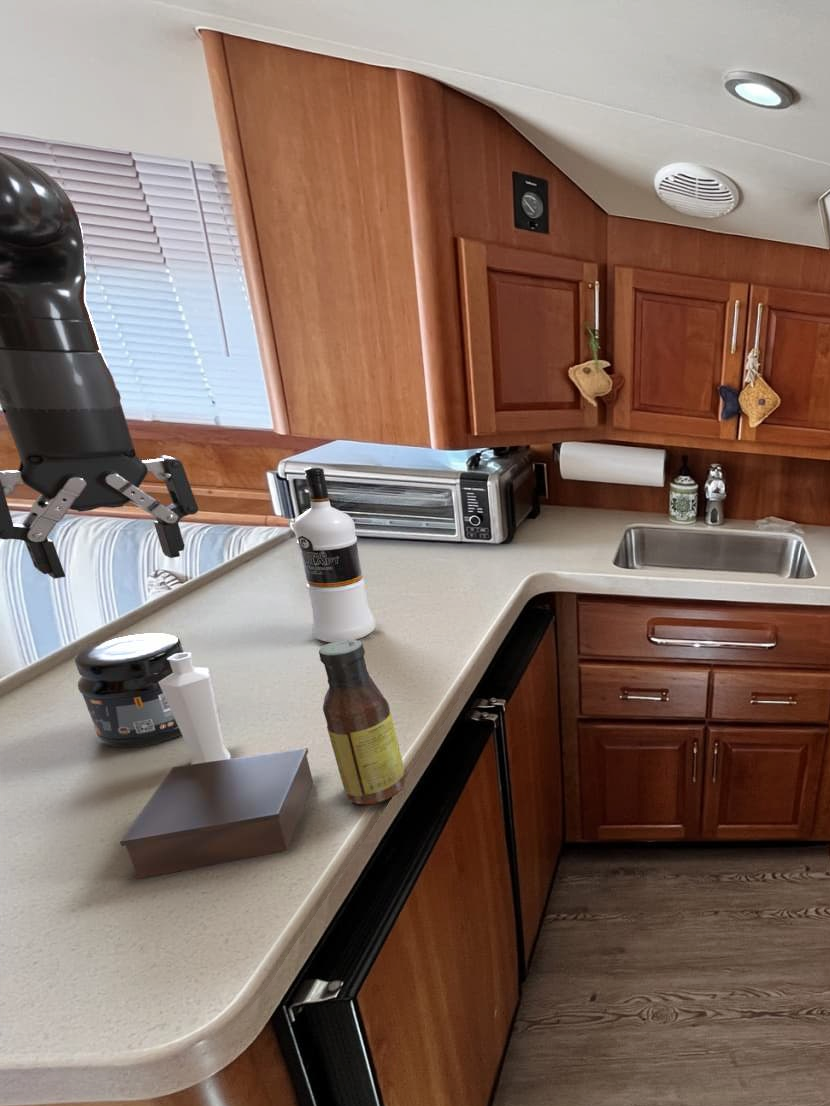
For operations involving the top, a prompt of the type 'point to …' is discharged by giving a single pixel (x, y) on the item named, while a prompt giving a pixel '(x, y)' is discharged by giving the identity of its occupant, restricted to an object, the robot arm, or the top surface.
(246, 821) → the box
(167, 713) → the supplement container
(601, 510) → the top surface
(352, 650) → the sauce bottle
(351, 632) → the vodka
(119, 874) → the top surface
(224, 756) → the white faceted vase
